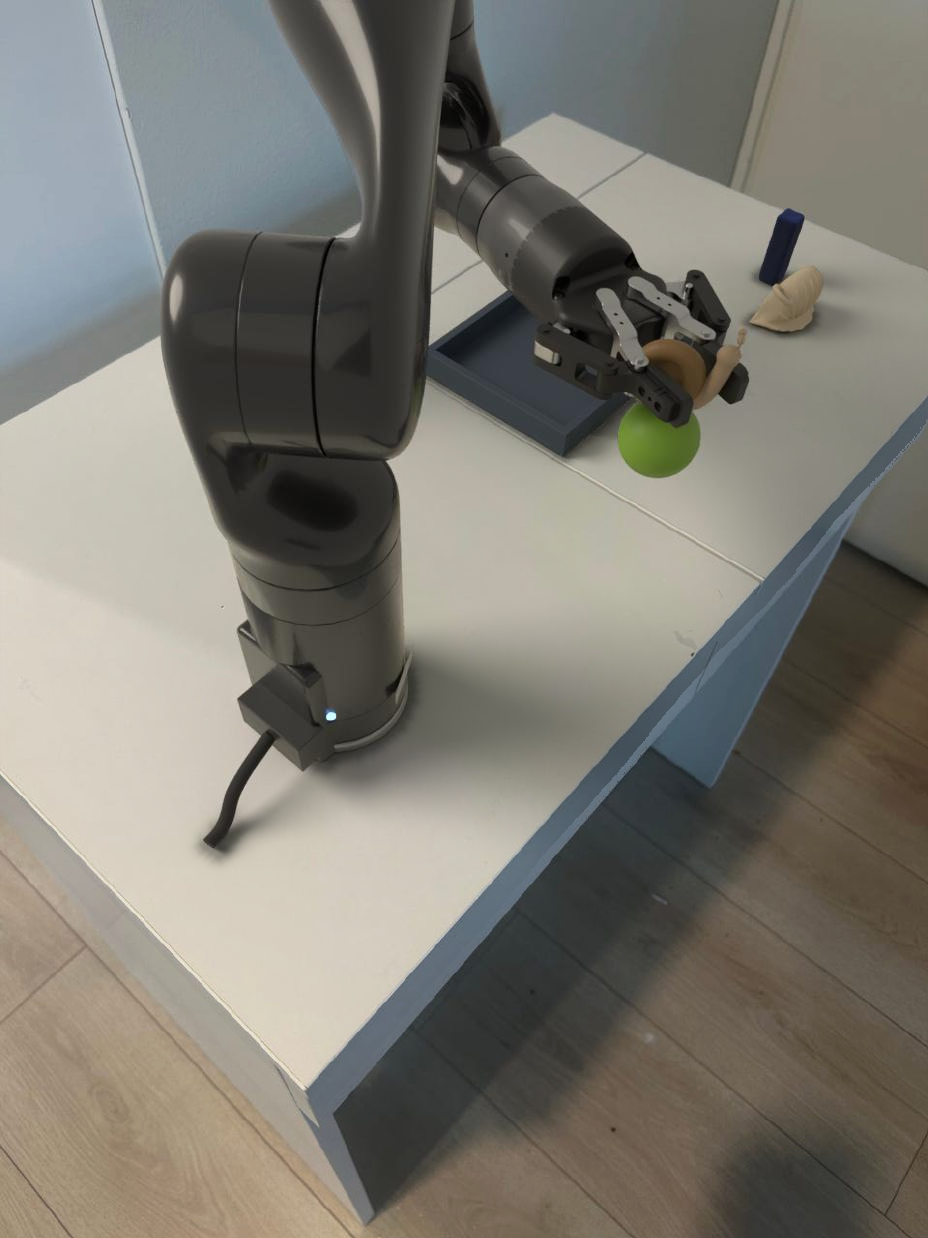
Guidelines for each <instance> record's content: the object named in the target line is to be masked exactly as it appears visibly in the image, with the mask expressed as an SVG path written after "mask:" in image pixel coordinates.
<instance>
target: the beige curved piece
mask: <svg viewBox="0 0 928 1238" xmlns="http://www.w3.org/2000/svg"><path fill="white" fill-rule="evenodd" d="M817 267H818V266H817ZM817 267H816V266H815V265H813V264H812V265H805V266H803V267H801V268H800V269H797V270H796V271H795V272H793V273H792V274H791V275H790V276H788V277H786V278H785V279H784V280H783V281H782V282H781V283H777V284H775V285H774V286H772V291H771V292H770V293H769V295H768V296H767V297H766V298H765V299H764V301H763V302H762V303H761V305H760V306H759V308H758V310H757V311H756V313H755V314H754V315H753V316H752V318H751V319H750V320H749V322H748V323H749V324H753V325H757V326H760V327H763V328H767V329H770V330H771V331H779V332H782V333H783V332H790V333H792V332H795V331H802V330H804V329H805V327H806V326H807V325H809V324H810V323H811V322H812V320H813V314H814V312H815V307H814V305H815V304H816V303H817V301H818V300H819V299H820V297H821V294H822V292H823V288H824V275H823V273H822V272H821V271H820V270H819V269H818V268H817Z"/></svg>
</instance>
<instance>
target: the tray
mask: <svg viewBox="0 0 928 1238" xmlns="http://www.w3.org/2000/svg"><path fill="white" fill-rule="evenodd" d="M541 324H542V323H541V322H540V321H539V320H538V319H537V318H536V317H535V316H534V315H533V314H532V313H531V312H530V311H529V310H528V309H527V308H526V307H525V306H524V305H522V304H521V303H520V302H519V301H518V300H517V299H516V298H515V297H514V296H513V295H512V294H511V293H510V292H509V291H508V290H507V289H506V291H504V292H503V293H501V294H500V295H499V296H497V297H495V298H494V299H493V300H492V301H490V302H489V303H487V304H486V305H484V306H482V308H480V309H479V310H478V311H476V312H475V313H473V314H471V315H470V316H469V317H468V318H466V319H465V320H464V321H463V320H462V322H460V323H459V324H457V325H456V326H455V327H453V328H452V329H450V330H449V331H448V332H446V333H445V334H443V335H442V336H441V337H439V338H438V339H436V340H435V341H434V342H432V343H431V344H429V349H428V365H427V375H426V377H429V378H430V379H432V380H434V381H436V382H437V383H439V384H441V385H442V386H443V387H445V388H447V389H448V390H450V391H452V392H453V393H455V394H456V395H459V396H460V397H462V398H464V399H465V400H467V401H468V402H470V403H472V404H473V405H475V406H477V407H479V408H481V409H482V410H484V412H487V413H488V414H490V415H492V416H493V417H495V418H496V419H498V420H500V421H502V422H504V423H505V424H506V425H508V426H510V427H512V428H513V429H515V430H517V431H518V432H520V433H522V434H523V435H524V436H526V437H528V438H530V439H531V440H533V441H535V442H536V443H538V444H540V445H541V446H543V447H545V448H546V449H548V450H549V451H551V452H553V453H554V454H556V455H558V456H559V457H561V458H564V457H565V456H567V455H568V454H569V453H570V452H571V451H573V450H574V449H575V448H576V447H577V446H578V445H579V444H580V443H581V442H582V441H584V440H585V439H586V438H587V437H589V435H591V434H592V433H593V432H594V431H596V429H597V428H598V427H600V426H601V425H602V424H603V423H604V422H605V421H607V420H608V419H609V418H610V417H611V416H612V415H614V413H616V412H617V411H618V410H620V409H621V407H623V406H624V405H625V404H626V403H628V401H630V399H632V398H633V397H630V396H627V395H626V394H625V393H624V392H621V393H613V396H612V398H611V399H609V400H600V399H598V398H596V397H594V396H592V395H590V394H588V393H586V392H585V391H583V390H581V389H579V388H577V387H575V386H573V385H572V384H570V383H568V382H566V381H564V380H562V379H560V378H559V377H557V376H555V375H553V374H551V373H549V372H547V371H546V370H544V369H542V368H540V367H538V366H536V365H535V364H534V363H533V354H534V345H535V337H536V329H537V327H538V326H539V325H541ZM666 327H667V324H666ZM665 331H666V328H665ZM664 335H665V332H664V334H663V337H664ZM683 340H684V342H685V343H686V344H688V345H690V346H691V347H692V345H693V340H692V339H691V338H689V337H687V336H685V335H684V336H683ZM585 368H586V370H587V371H588V372H589V373H591V374H593V375H595V376H597V373H598V371H597V370H595V369H593V368H591V367H589V366H587V365H586V366H585Z"/></svg>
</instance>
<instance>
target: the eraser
mask: <svg viewBox="0 0 928 1238" xmlns="http://www.w3.org/2000/svg"><path fill="white" fill-rule="evenodd" d="M805 217H806V216H805V215H804V214H803V213H801V212H799V211H796V210H794V209H792V208H790V207H787V208H786V209H784V210H783V211H782V212H781V213H780V214H779V215H777V217H776V220H775V223H774V226H773V230H772V234H771V236H770V239H769V242H768V246H767V248H766V251H765V254H764V257H763V261H762V263H761V266H760V270H759V273H758V280H759V281H760V282H762V283H764V284H767V285H769V286H772V287H773V286H774V285H775V284H780V282H781V281H782V280H783V279H784V277H785V275H786V273H787V270H788V268H789V266H790V262H791V260H792V257H793V254H794V251H795V248H796V245H797V243H798V241H799V237H800V234H801V232H802V230H803V227H804V223H805V219H806V218H805Z"/></svg>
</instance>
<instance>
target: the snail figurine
mask: <svg viewBox="0 0 928 1238" xmlns="http://www.w3.org/2000/svg"><path fill="white" fill-rule="evenodd" d="M737 335H738V336H737V337H736V344H737V345H735V344H725V345H723V347H721V348H720V349H719V351H718V352H717V362H716V364H715V366H714V368H713V369H712V371H711V372H710V374H709V375H708V377H707V378H706V367H705V364H704V361H703V359H702V357H701V356H700V354H699V353H698V352H697V351H696V350H695V349H694V348H693V347H692V345H691V346H690V345H688V344H686V343H684V342H682V341H679V340H675V339H659V340H655V341H652V342H650V343H648V344H646V345H645V346H644V347H642V351H643V352H644V353H645V354H646V355H647V357H648V358H649V365H648V366H652V365H654V364H657V365H658V366H659V367H660V368H662V369H663V370H664V371H665V372H666V373H667V374H668V375H669V376H670V377H671V378H672V379H673V380H675V381H676V382H677V383H678V384H679V385H680V386H681V387H682V388H683V389H684V390H685V391H686V392H688V393H689V394H690V395H691V397H692V399H693V402H694V405H693V409H692V412H691V415H690V419H689V422H688V423H687V424H686V425H683V426H681V427H679V428H674V427H673V426H672V425H671V424H670V423H665V422H663V421H661V420H659V419H658V418H657V417H656V416H655V415H654V413H652V412H651V411H650V410H649V409H648V408H647V407H646V406H645V405H644V404H643V403H642V402H641V401H640V400H639V399H638V398H637V397H635V399H636V400H637V401H638V402H636V403H634V404H633V405H631V407H630V408H629V409H628V410H627V411H626V412H625V414H624V415H623V417H622V418H621V421H620V423H619V427H618V430H617V445H618V450H619V451H618V452H619V454H620V456H621V459H623V461H624V463H625V464H626V465H627V466H628V467H629V468H630V469H632V471H634V472H635V473H637V474H638V475H641V476H643V477H646V478H649V479H650V478H651V479H664V478H669V477H672V476H675V475H677V474H678V473H681V472H682V471H684V470H685V469H686V468H687V467H688V466H689V465H690V464H691V463H692V462H693V460H694V458H696V455H697V453H698V451H699V448H700V445H701V438H702V437H701V436H702V434H701V426H700V421H699V420H698V418H697V415H696V414H695V412H694V411H697V410H700V409H702V408H704V407H706V406H707V405H708V404H709V403H711V402H712V401H713V400H714V399H715V398H716V396H718V393H719V392H720V390H721V389H722V387H723V386H724V384H725V383H726V381H727V379H728V378H729V376H730V374H731V372H732V370H733V368H734V367H735V366H736V365H737V364H738V363H740V359H741V358H742V351H741V347H742V345H744V344H745V343H746V337H747V335H748V329H747V328H745V327H741V328H740V329H738V334H737Z"/></svg>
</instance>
